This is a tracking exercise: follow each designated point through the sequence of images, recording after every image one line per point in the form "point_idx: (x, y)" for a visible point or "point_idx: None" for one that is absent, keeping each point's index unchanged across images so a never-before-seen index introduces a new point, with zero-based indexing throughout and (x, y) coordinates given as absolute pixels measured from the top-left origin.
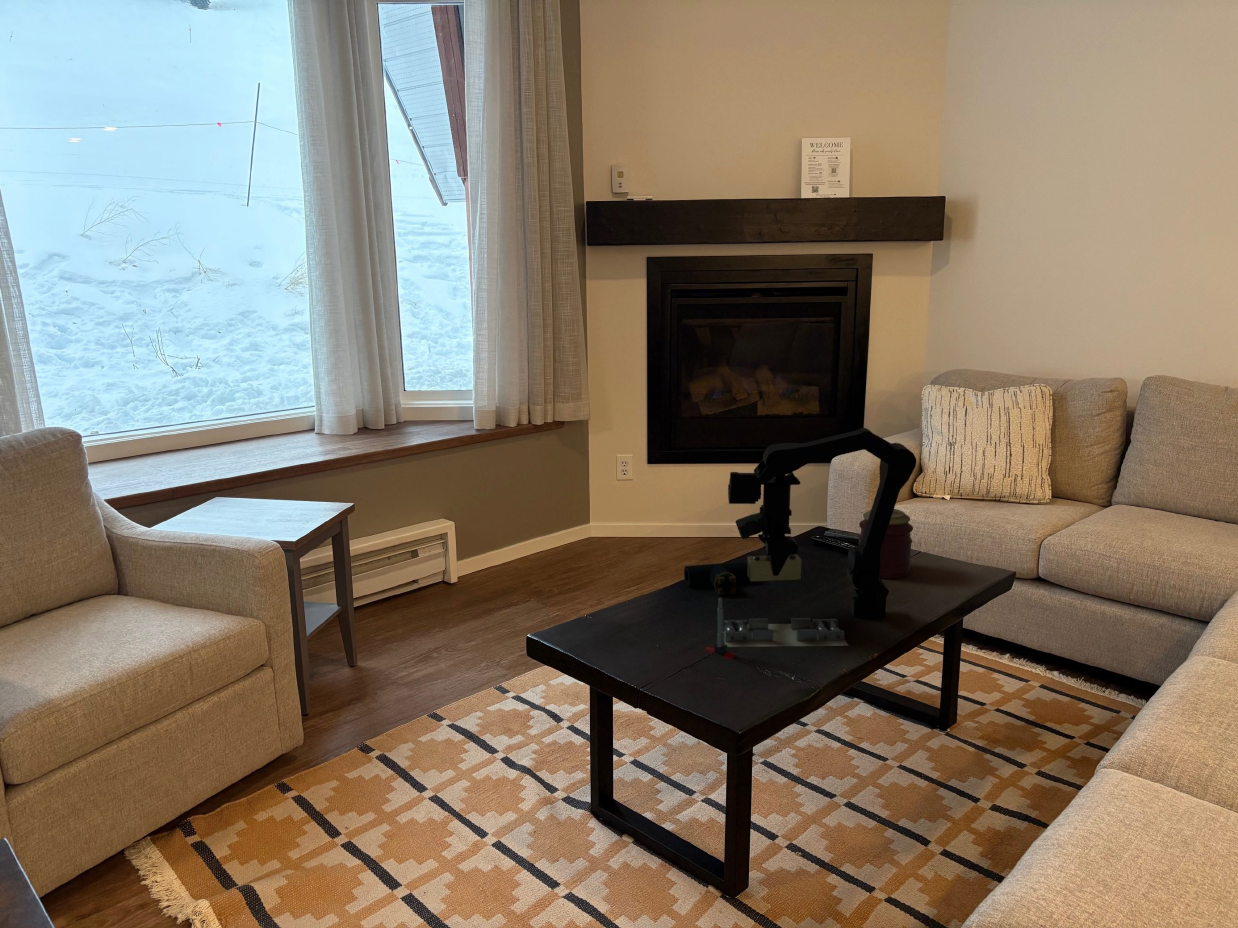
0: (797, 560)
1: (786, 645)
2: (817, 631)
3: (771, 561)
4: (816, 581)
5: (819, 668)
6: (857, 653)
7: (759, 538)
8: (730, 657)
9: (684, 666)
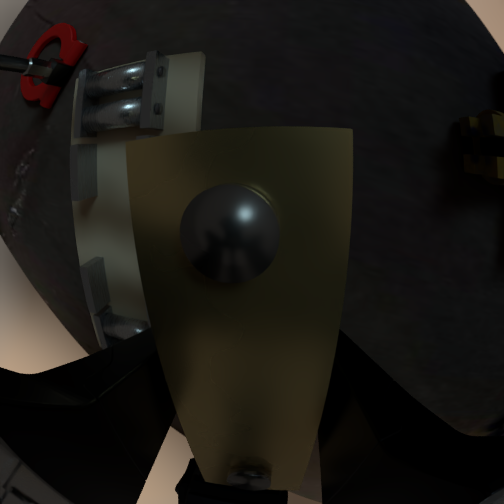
0: (202, 470)
1: (77, 225)
2: (130, 318)
3: (112, 352)
4: (456, 383)
5: (39, 264)
6: (96, 348)
7: (489, 493)
8: (42, 96)
9: (55, 23)
